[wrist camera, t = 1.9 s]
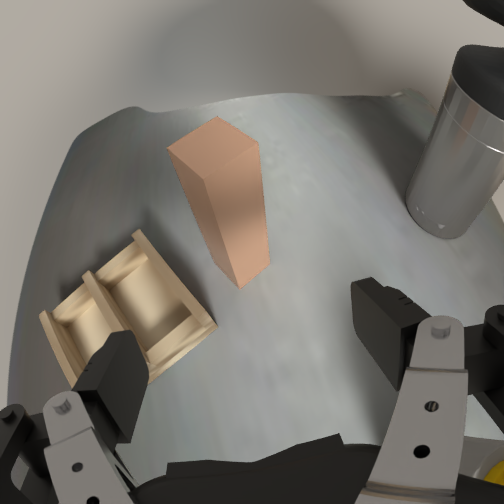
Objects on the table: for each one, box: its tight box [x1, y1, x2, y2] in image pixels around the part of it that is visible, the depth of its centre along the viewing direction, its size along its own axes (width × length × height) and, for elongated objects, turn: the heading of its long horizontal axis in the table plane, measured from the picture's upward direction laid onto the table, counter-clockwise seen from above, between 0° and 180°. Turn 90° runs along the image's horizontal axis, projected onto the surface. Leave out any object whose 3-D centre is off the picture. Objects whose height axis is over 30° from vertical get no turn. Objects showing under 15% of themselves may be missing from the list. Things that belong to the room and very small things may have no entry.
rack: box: [39, 229, 218, 388], centre depth 27 cm, size 14×11×5 cm
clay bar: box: [167, 116, 270, 289], centre depth 25 cm, size 4×4×16 cm
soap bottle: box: [458, 436, 504, 485], centre depth 13 cm, size 7×7×18 cm
